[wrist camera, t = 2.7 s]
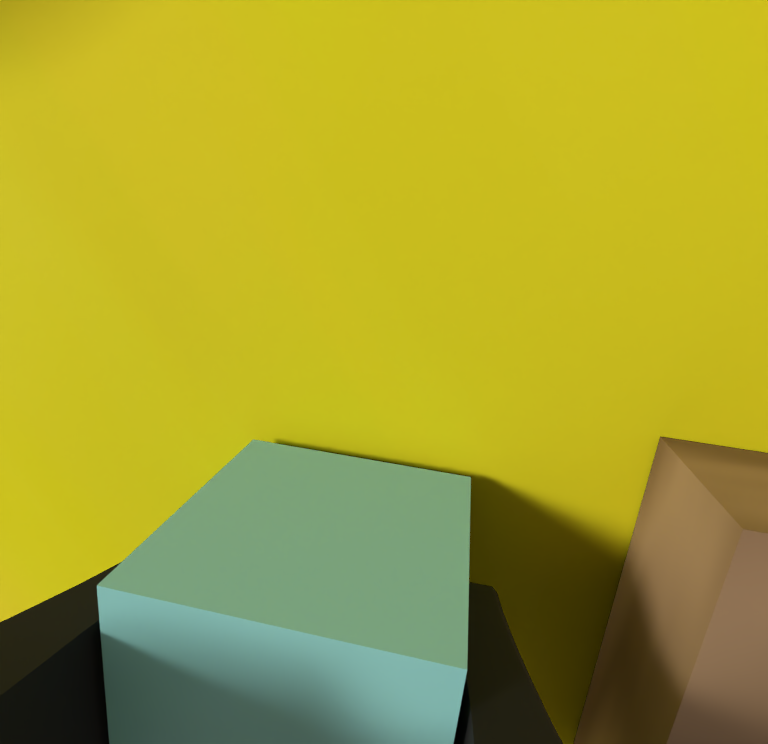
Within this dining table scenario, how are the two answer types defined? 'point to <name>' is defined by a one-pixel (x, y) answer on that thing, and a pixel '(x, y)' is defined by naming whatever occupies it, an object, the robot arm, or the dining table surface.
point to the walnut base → (689, 608)
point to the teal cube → (294, 607)
